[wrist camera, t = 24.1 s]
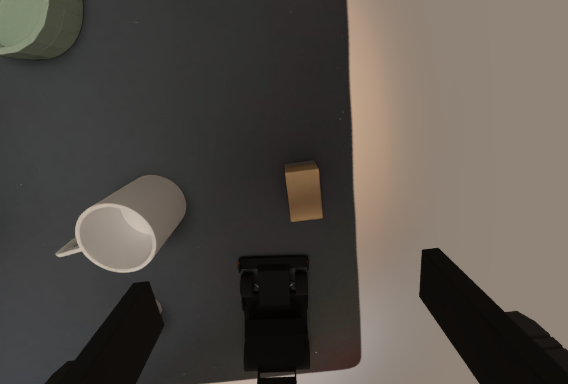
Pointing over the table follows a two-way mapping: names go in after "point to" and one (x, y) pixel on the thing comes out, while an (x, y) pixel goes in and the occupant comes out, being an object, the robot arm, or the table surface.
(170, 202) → the cup
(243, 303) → the toy truck
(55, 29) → the bowl
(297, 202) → the eraser
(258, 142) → the table surface
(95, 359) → the robot arm
